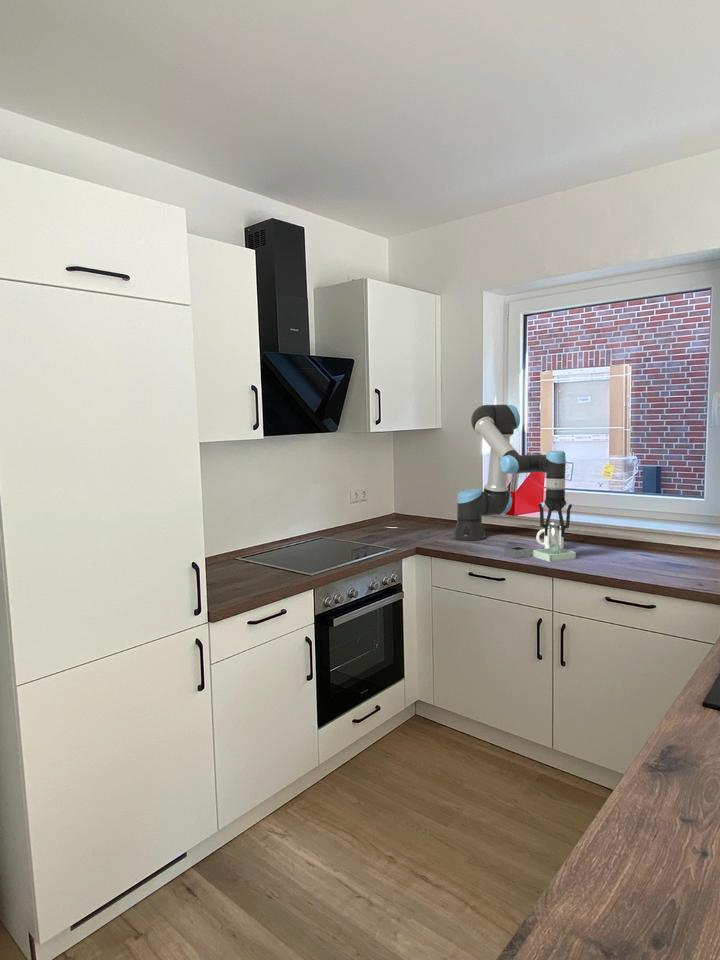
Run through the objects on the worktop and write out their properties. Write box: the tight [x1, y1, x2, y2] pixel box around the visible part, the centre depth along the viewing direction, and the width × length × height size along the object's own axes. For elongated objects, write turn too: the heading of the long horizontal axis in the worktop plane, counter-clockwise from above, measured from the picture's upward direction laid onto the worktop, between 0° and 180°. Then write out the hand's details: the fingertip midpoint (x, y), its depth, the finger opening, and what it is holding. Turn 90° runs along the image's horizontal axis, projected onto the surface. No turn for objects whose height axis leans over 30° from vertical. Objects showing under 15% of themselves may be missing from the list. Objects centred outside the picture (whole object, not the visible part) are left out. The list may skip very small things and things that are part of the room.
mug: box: [535, 525, 565, 549], centre depth 274 cm, size 12×8×10 cm
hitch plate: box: [503, 545, 532, 559], centre depth 262 cm, size 8×8×3 cm
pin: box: [548, 520, 561, 554], centre depth 256 cm, size 6×6×13 cm
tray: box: [532, 547, 577, 563], centre depth 257 cm, size 11×13×3 cm
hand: (554, 544), depth 257 cm, fingers closed on pin, 4 cm apart
